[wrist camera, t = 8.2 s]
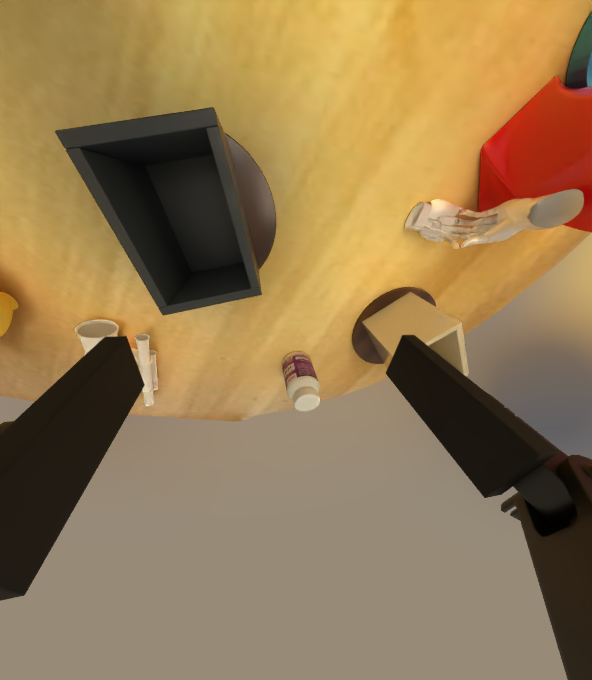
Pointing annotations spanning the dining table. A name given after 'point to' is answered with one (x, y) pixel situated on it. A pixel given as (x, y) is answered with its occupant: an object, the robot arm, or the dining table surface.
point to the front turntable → (254, 200)
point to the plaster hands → (493, 218)
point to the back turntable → (360, 335)
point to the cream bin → (417, 330)
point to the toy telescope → (101, 328)
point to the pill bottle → (301, 381)
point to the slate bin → (171, 205)
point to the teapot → (6, 311)
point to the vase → (542, 152)
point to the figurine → (581, 59)
